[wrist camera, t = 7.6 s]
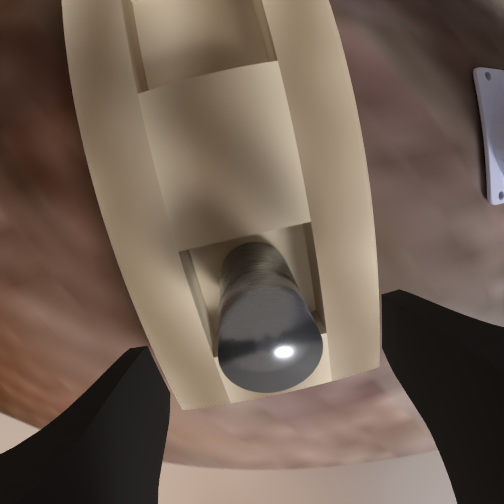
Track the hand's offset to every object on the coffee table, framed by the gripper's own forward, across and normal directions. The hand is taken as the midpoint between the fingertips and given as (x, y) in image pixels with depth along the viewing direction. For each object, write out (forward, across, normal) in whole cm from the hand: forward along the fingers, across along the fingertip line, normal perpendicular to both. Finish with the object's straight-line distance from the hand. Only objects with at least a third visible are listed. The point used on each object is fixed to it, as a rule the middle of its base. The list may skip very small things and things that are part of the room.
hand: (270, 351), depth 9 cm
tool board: (+7, 0, -6) cm, 9 cm away
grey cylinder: (+6, 0, 0) cm, 6 cm away
